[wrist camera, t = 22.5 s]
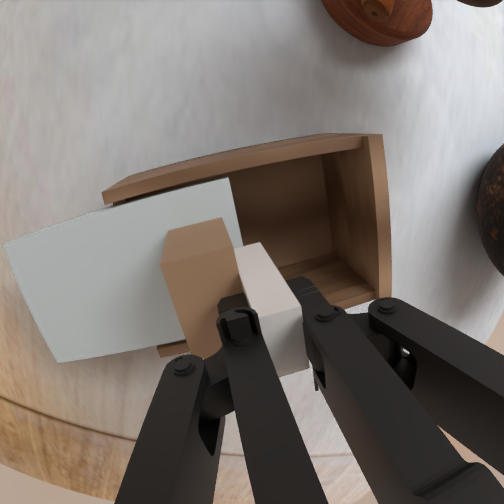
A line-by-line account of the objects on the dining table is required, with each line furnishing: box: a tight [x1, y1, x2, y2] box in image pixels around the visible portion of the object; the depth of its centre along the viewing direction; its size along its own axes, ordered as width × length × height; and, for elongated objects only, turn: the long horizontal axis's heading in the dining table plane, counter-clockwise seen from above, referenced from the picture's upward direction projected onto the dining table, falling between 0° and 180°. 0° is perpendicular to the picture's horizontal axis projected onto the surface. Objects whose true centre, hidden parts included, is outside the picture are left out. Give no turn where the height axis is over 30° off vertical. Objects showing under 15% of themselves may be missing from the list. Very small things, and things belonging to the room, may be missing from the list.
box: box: [102, 133, 392, 357], centre depth 22 cm, size 11×16×9 cm
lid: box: [3, 176, 243, 363], centre depth 16 cm, size 9×15×6 cm, turn 101°
